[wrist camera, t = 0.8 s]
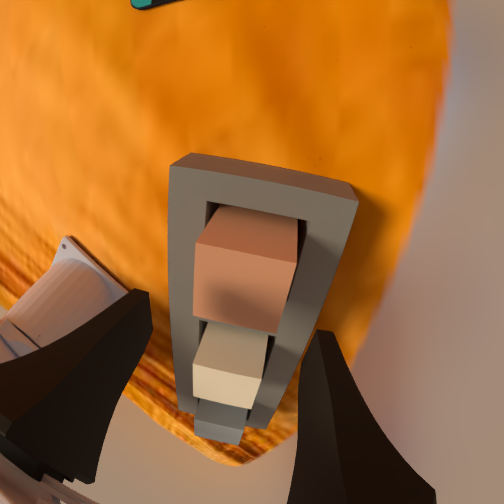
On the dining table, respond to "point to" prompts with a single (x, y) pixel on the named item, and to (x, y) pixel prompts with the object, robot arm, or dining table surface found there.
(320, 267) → the key panel
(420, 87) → the dining table surface
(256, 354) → the white key
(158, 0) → the smartphone
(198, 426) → the slate key
